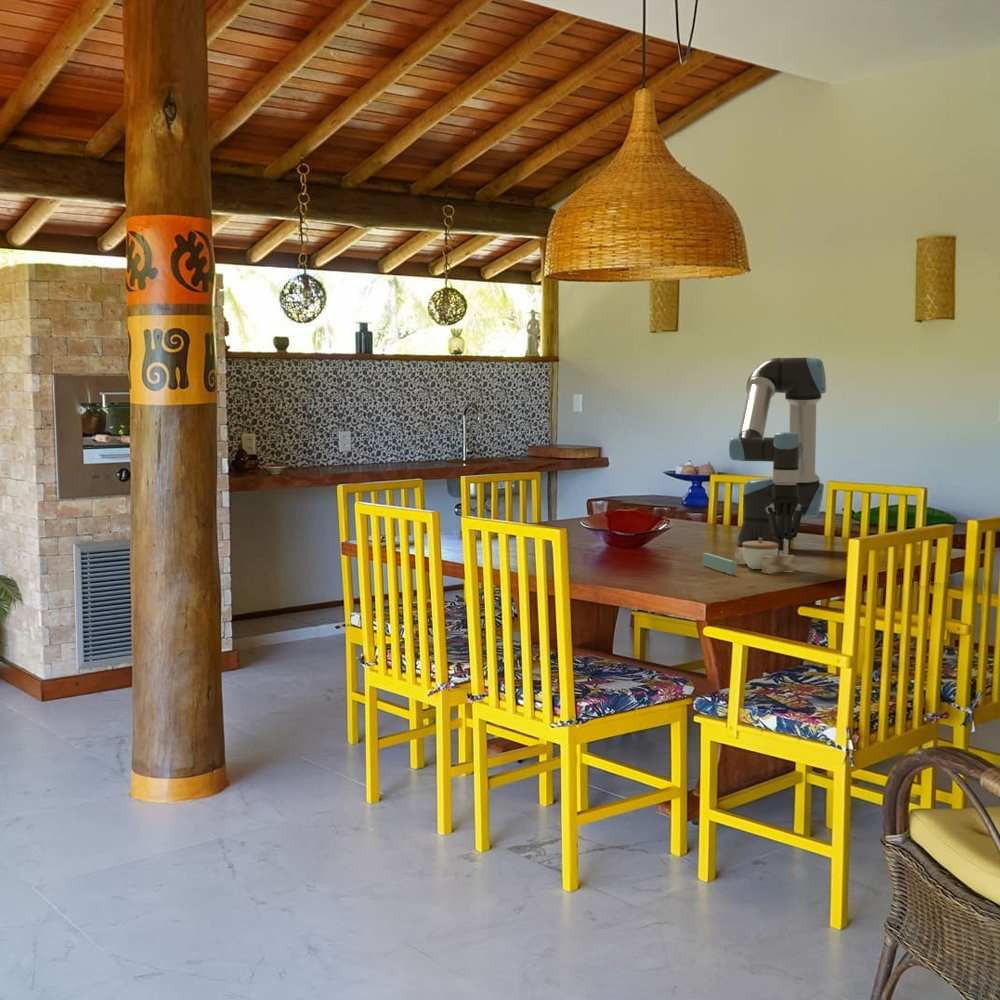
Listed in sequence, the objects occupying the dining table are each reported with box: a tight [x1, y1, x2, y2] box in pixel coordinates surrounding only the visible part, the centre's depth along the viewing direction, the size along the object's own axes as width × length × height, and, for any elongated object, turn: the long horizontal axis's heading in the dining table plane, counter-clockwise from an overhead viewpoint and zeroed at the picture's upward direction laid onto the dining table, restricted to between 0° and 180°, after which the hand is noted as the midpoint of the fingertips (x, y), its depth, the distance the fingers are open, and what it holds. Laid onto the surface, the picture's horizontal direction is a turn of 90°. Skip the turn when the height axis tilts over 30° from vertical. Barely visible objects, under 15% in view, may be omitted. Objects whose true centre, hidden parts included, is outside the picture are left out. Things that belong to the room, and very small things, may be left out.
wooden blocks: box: [734, 547, 796, 574], centre depth 352 cm, size 10×18×5 cm, turn 17°
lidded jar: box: [741, 538, 779, 569], centre depth 351 cm, size 11×11×9 cm
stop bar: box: [701, 552, 736, 576], centre depth 348 cm, size 2×18×4 cm, turn 17°
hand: (783, 560), depth 354 cm, fingers closed
